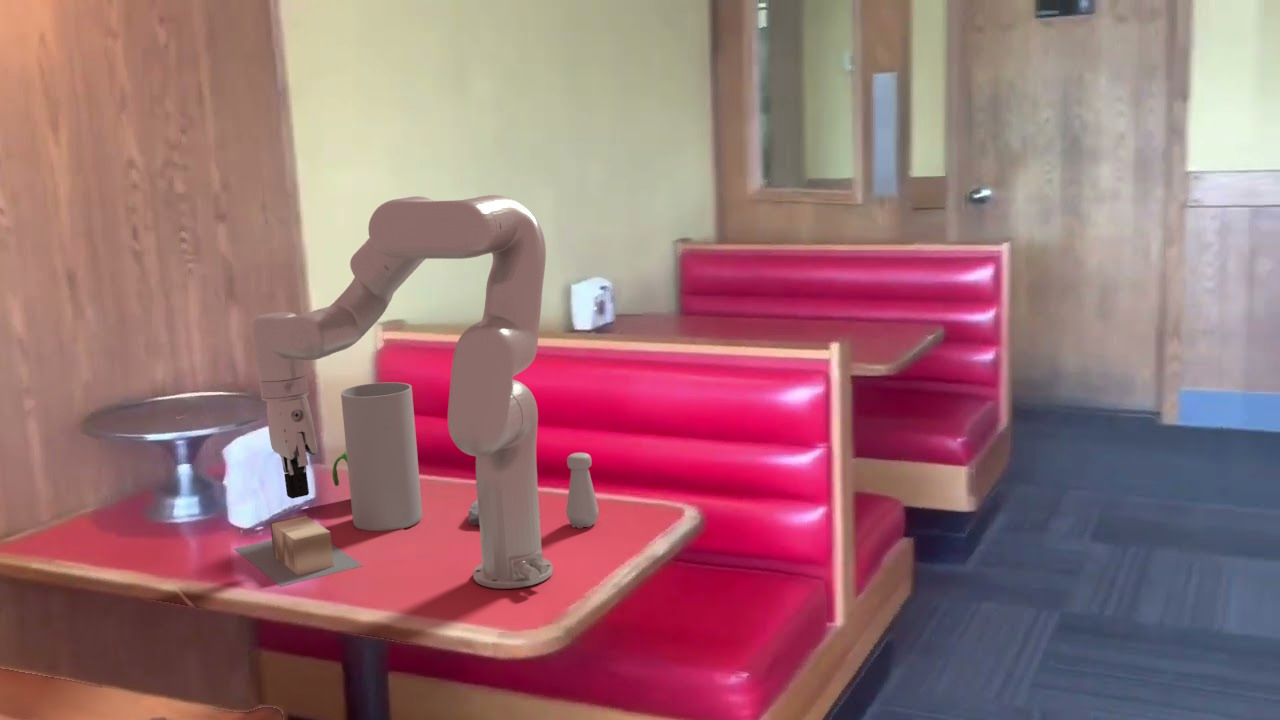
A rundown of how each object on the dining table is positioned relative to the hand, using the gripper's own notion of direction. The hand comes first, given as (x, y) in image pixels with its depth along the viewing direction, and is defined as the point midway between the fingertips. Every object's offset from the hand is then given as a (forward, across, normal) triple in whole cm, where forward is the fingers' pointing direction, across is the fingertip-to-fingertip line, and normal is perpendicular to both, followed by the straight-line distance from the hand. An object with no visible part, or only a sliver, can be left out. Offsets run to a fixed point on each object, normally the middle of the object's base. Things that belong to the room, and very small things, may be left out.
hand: (298, 495), depth 205 cm
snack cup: (+12, +26, -23) cm, 37 cm away
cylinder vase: (+12, +11, -19) cm, 25 cm away
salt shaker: (+13, -15, -45) cm, 50 cm away
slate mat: (+12, +3, +1) cm, 12 cm away
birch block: (+8, +6, +1) cm, 10 cm away
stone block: (+13, -2, -36) cm, 38 cm away
